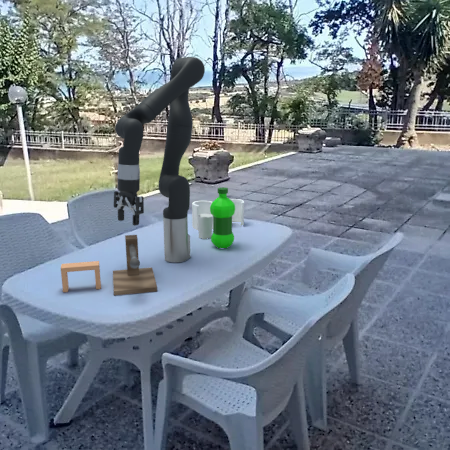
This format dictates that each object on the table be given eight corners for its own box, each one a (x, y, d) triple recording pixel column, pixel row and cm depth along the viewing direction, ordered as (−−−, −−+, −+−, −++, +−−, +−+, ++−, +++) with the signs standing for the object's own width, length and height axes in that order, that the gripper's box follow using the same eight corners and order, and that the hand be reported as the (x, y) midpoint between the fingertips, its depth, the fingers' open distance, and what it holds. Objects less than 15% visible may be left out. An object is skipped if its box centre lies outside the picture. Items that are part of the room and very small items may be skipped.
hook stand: (113, 274, 171) (110, 234, 167) (152, 271, 174) (150, 232, 170) (114, 302, 149) (111, 257, 145) (159, 298, 152) (157, 254, 148)
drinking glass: (210, 240, 209) (210, 218, 206) (196, 239, 210) (195, 217, 207) (214, 235, 215) (214, 214, 212) (199, 234, 216) (199, 213, 214)
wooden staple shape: (100, 284, 163) (99, 260, 160) (100, 289, 159) (98, 265, 157) (64, 287, 160) (61, 263, 158) (63, 292, 156) (60, 268, 154)
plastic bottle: (235, 243, 205) (236, 186, 198) (233, 251, 195) (234, 191, 188) (212, 242, 206) (212, 185, 199) (209, 250, 196) (208, 191, 189)
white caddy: (240, 221, 237) (240, 198, 233) (246, 227, 228) (246, 202, 224) (190, 225, 230) (190, 201, 227) (194, 231, 221) (194, 206, 218)
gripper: (150, 179, 163) (149, 225, 167) (125, 173, 172) (124, 217, 176) (132, 180, 158) (131, 228, 161) (107, 175, 167) (107, 220, 171)
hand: (128, 222), depth 169 cm, fingers open, 8 cm apart
